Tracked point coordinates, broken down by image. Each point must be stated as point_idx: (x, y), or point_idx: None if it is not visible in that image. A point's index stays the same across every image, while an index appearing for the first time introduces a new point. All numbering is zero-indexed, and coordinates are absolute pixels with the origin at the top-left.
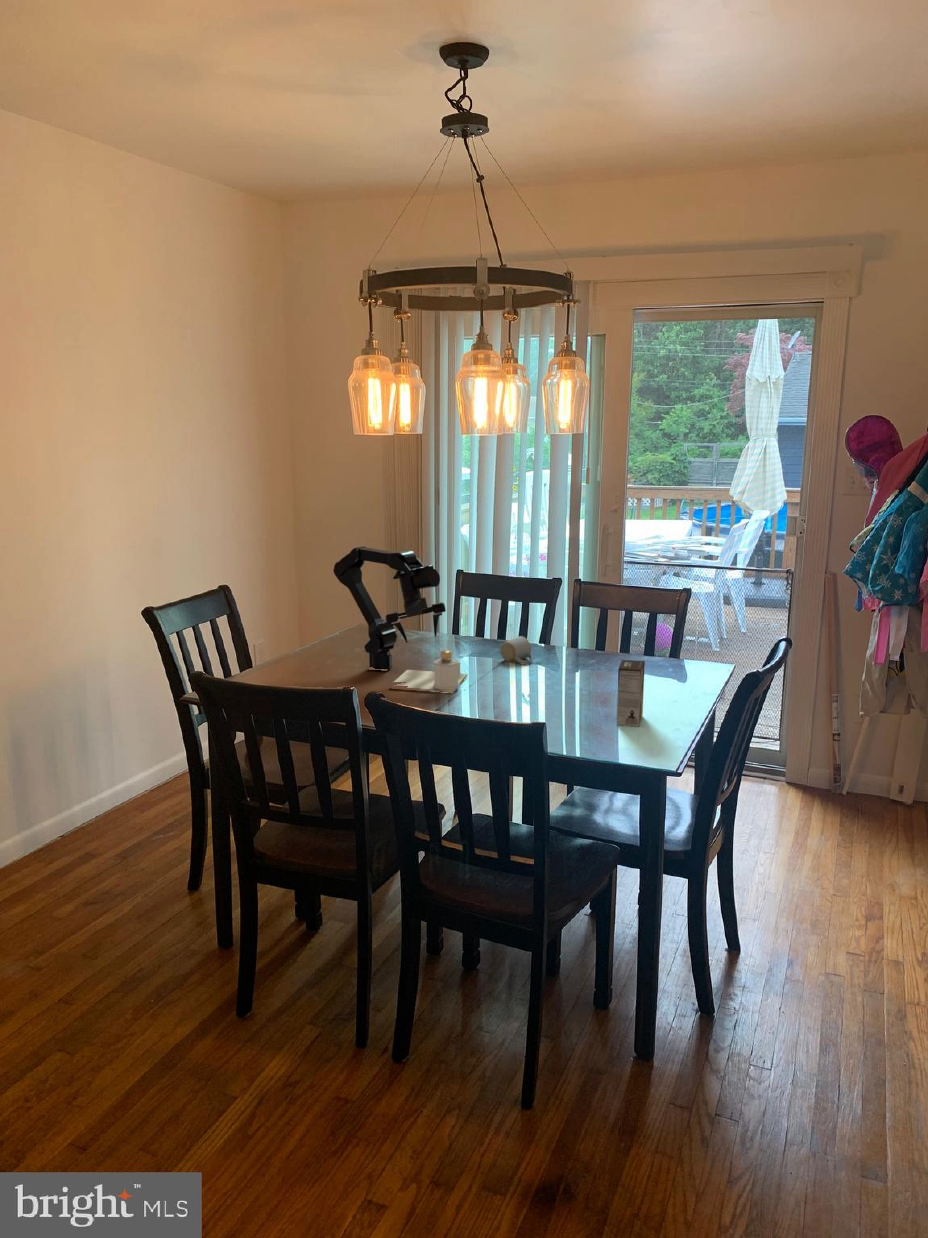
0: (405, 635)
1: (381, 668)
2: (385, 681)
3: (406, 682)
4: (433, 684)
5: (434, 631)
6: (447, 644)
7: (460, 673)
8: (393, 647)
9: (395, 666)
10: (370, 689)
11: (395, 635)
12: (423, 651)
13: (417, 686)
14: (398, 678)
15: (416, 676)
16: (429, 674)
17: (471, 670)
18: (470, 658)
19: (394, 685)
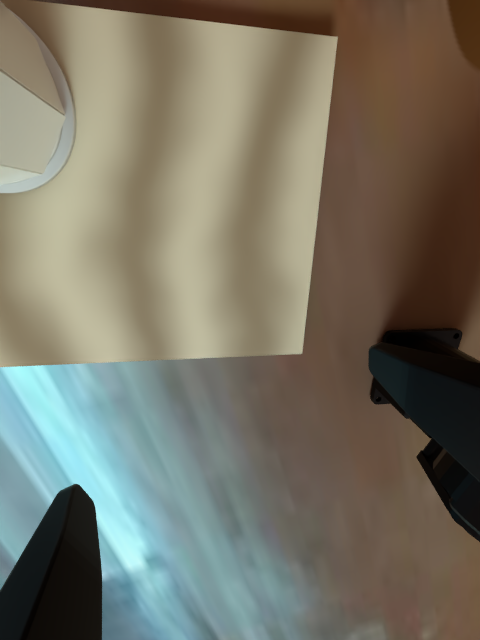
0: (446, 376)
1: (411, 343)
2: (368, 197)
3: (255, 140)
4: (63, 79)
5: (49, 554)
6: (242, 633)
7: (34, 365)
8: (419, 461)
9: (358, 408)
10: (425, 25)
11: (473, 508)
12: (296, 566)
13: (167, 61)
14: (313, 208)
15: (233, 264)
16: (179, 311)
17: (37, 448)
18: (113, 560)
19: (308, 56)
